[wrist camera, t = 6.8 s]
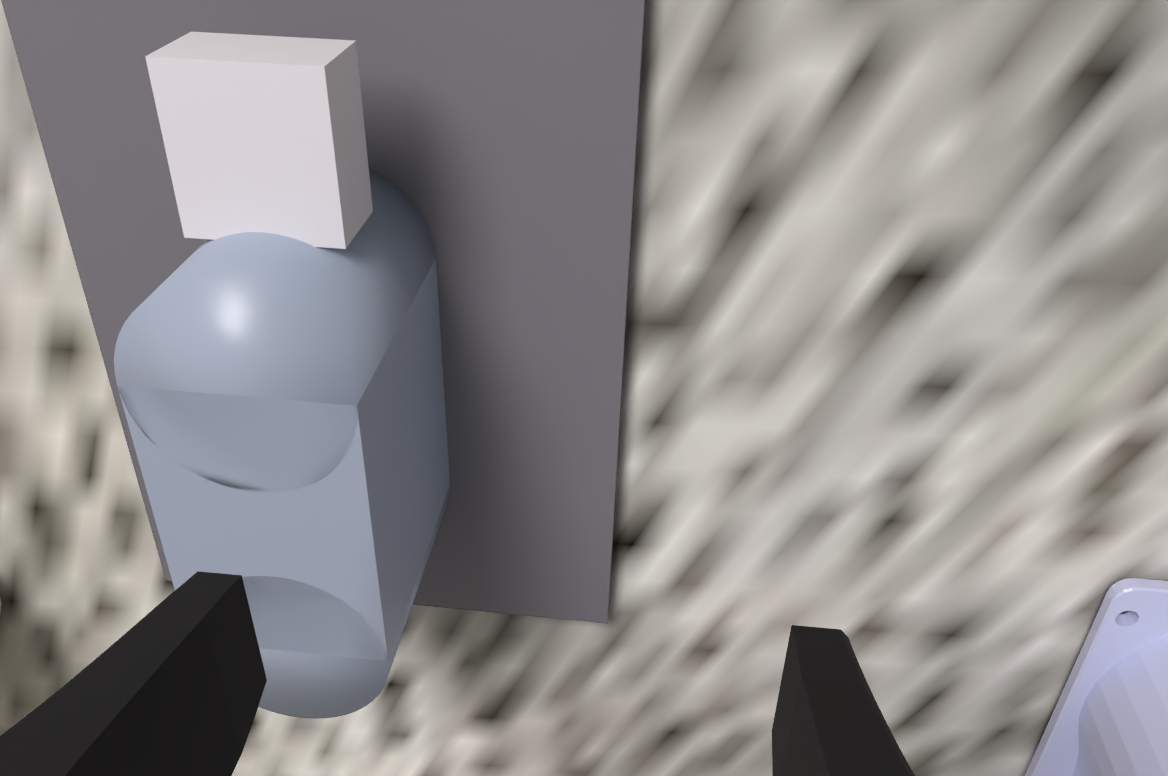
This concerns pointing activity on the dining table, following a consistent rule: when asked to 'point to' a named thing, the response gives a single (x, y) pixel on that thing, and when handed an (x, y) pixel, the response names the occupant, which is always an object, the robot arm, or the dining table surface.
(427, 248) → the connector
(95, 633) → the dining table surface
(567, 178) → the mat
